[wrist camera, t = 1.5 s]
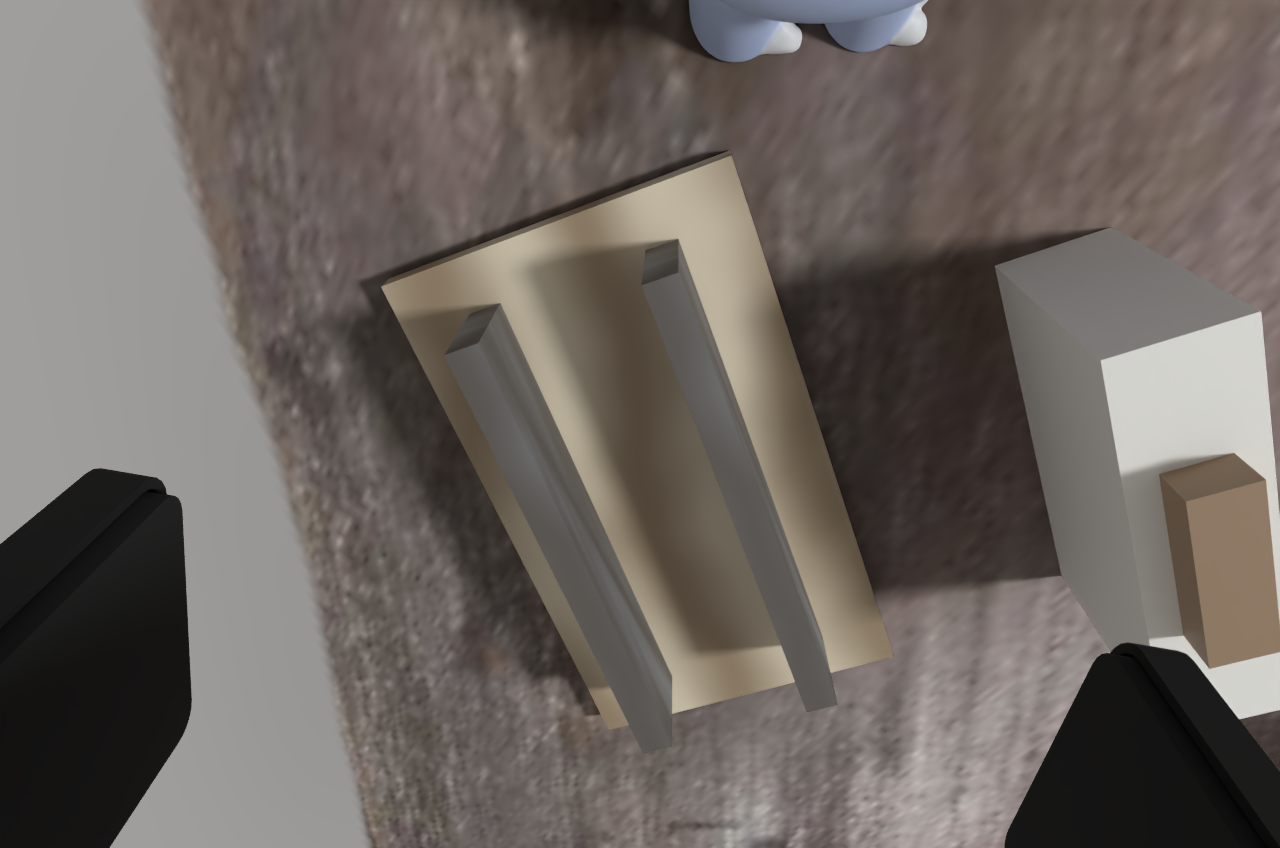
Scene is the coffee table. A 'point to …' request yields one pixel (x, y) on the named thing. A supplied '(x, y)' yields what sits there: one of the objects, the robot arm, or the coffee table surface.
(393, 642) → the coffee table surface
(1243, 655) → the cabinet block
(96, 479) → the robot arm
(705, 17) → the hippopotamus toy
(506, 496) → the groove stand
